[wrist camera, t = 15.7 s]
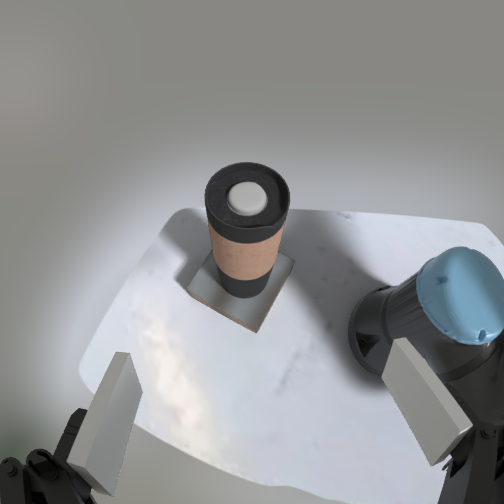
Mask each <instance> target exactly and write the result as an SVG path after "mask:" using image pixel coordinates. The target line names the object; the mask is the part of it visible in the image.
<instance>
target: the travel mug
mask: <svg viewBox="0 0 504 504" xmlns="http://www.w3.org/2000/svg"><path fill="white" fill-rule="evenodd" d="M289 205H290V192H289V188H288V186H287V184H286V182H285V180H284V179H283V178H282V176H281V175H280V174H278V173H277V172H276V171H275V170H273V169H271V168H269V167H267V166H265V165H262V164H258V163H252V162H241V163H235V164H232V165H229V166H226V167H224V168H222V169H221V170H219V171H218V172H217V173H215V174H214V175H213V176H212V177H211V179H210V180H209V182H208V184H207V186H206V189H205V206H206V212H207V218H208V225H209V231H210V237H211V243H212V248H213V254H214V259H215V263H216V266H217V270H218V273H219V277H220V280H221V283H222V285H223V287H224V289H225V290H226V291H227V292H228V293H229V294H231V295H232V296H234V297H237V298H242V299H246V298H252V297H254V296H256V295H258V294H260V293H261V292H262V291H263V290H264V288H265V287H266V285H267V282H268V280H269V277H270V274H271V272H272V269H273V266H274V263H275V260H276V257H277V253H278V249H279V245H280V241H281V237H282V233H283V229H284V224H285V220H286V216H287V212H288V209H289Z"/></svg>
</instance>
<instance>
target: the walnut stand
mask: <svg viewBox="0 0 504 504" xmlns="http://www.w3.org/2000/svg"><path fill="white" fill-rule="evenodd" d="M294 262H295V260H293V259H291V258H289V257H287V256H285V255H283V254H281V253H279V252H278V253H277V257H276V260H275V263H274V266H273V269H272V272H271V274H270V277H269V280H268V282H267V285H266V287H265V288H264V290H263V291H262V292H261V293H260V294H258V295H256V296H254V297H252V298H246V299H242V298H237V297H234V296H232V295H231V294H229V293H228V292H227V291H226V290H225V289H224V287H223V285H222V283H221V280H220V277H219V273H218V270H217V266H216V263H215V259H214V254H213V249H212V251H211V252H210V254H209V255H208V257H207V258H206V260H205V261H204V263H203V264H202V266H201V267H200V269H199V270H198V272H197V273H196V275H195V276H194V278H193V279H192V281H191V282H190V284H189V285H188V287H187V288H186V289H187V291H188V292H189V294H190V296H191V297H193V298H194V299H196V300H198V301H199V302H201V303H203V304H204V305H206V306H208V307H210V308H211V309H213V310H215V311H217V312H218V313H220V314H222V315H224V316H225V317H227V318H229V319H231V320H233V321H234V322H236V323H238V324H240V325H242V326H244V327H245V328H247V329H249V330H251V331H253V332H255V333H257V332H258V330H259V329H260V327H261V325H262V323H263V321H264V320H265V318H266V316H267V314H268V312H269V310H270V309H271V307H272V305H273V303H274V301H275V300H276V298H277V296H278V294H279V292H280V290H281V288H282V287H283V285H284V283H285V281H286V279H287V277H288V275H289V273H290V271H291V269H292V267H293V265H294Z"/></svg>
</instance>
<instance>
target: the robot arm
mask: <svg viewBox="0 0 504 504" xmlns="http://www.w3.org/2000/svg"><path fill="white" fill-rule="evenodd" d="M349 341H350V345H351V348H352V351H353V353H354V355H355V357H356V359H357V360H358V361H359V362H360V364H361V365H362V366H363V367H365V368H366V369H367V370H369V371H370V372H372V373H375V374H378V375H382V377H381V378H382V380H383V381H384V383H385V385H386V386H387V388H388V390H389V392H390V393H391V395H392V397H393V398H394V400H395V402H396V404H397V405H398V407H399V409H400V411H401V412H402V414H403V416H404V418H405V419H406V421H407V423H408V425H409V427H410V428H411V430H412V432H413V434H414V436H415V437H416V439H417V441H418V443H419V445H420V447H421V449H422V450H423V452H424V454H425V456H426V458H427V460H428V462H429V464H430V466H434V465H436V464H438V463H440V462H442V461H444V460H445V459H446V457H447V456H448V455H449V454H450V455H451V456H452V458H451V459H450V460H449V461H448V462H447V463H446V464H445V465H444V467H443V468H442V470H443V471H444V470H445V469H446V468H447V467H448V469H447V470H446V471H447V473H446V477H445V481H444V484H443V488H442V491H441V494H440V498H439V501H438V504H504V279H503V277H502V275H501V273H500V272H499V270H498V269H497V267H496V266H495V265H494V264H493V262H492V261H491V260H490V259H489V258H487V257H486V256H485V255H484V254H482V253H481V252H479V251H477V250H474V249H469V248H467V247H454V248H450V249H448V250H446V251H444V252H443V253H441V254H440V255H439V256H437V257H434V258H432V259H430V260H429V261H427V262H426V263H425V264H424V265H423V266H422V267H421V269H420V270H419V271H418V272H417V273H415V274H414V275H412V276H411V277H410V278H408V279H407V280H405V281H404V282H403V283H401V284H400V285H398V286H387V287H381V288H378V289H376V290H374V291H372V292H370V293H369V294H368V295H366V296H365V297H364V298H363V299H362V300H361V301H360V302H359V303H358V304H357V305H356V307H355V309H354V311H353V313H352V315H351V318H350V323H349ZM423 358H424V359H425V360H426V362H427V363H426V362H425V360H424V359H423ZM142 393H143V391H142V388H141V385H140V383H139V380H138V377H137V374H136V371H135V368H134V365H133V361H132V358H131V355H130V353H123V352H116V353H115V355H114V357H113V359H112V361H111V363H110V365H109V367H108V369H107V371H106V373H105V375H104V377H103V379H102V381H101V383H100V385H99V387H98V389H97V392H96V394H95V396H94V398H93V400H92V402H91V405H90V407H89V409H88V410H85V409H81V408H78V409H77V410H76V411H75V412H74V413H73V414H72V415H71V417H70V419H69V421H68V423H67V426H66V428H65V430H64V433H63V435H62V436H61V439H60V441H59V443H58V445H57V448H56V450H55V452H54V455H51V453H50V452H48V451H47V450H44V449H35V450H33V451H32V452H30V454H29V455H28V456H27V459H26V465H23V464H22V463H21V462H20V461H19V460H17V459H16V458H13V457H9V458H6V459H4V460H3V461H2V463H1V464H0V501H1V504H97V503H96V501H95V499H94V498H93V496H92V495H91V493H90V492H91V489H92V488H93V489H94V490H95V491H96V492H98V493H101V494H105V495H108V496H112V497H114V494H115V490H116V486H117V482H118V478H119V474H120V469H121V466H122V462H123V458H124V454H125V451H126V447H127V443H128V440H129V436H130V432H131V429H132V426H133V422H134V419H135V415H136V412H137V409H138V405H139V402H140V399H141V396H142Z"/></svg>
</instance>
